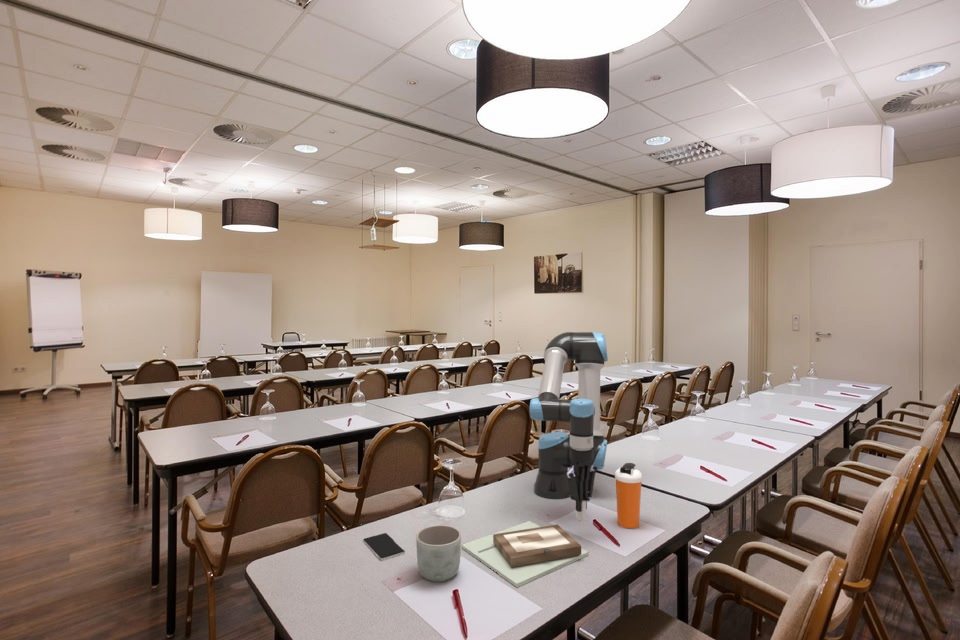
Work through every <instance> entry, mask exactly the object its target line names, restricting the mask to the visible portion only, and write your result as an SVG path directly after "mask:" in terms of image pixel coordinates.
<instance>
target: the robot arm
mask: <svg viewBox="0 0 960 640" xmlns="http://www.w3.org/2000/svg"><path fill="white" fill-rule="evenodd" d="M543 359H544V365H543V370H542V376H541V381H540V385H539V389H538V390H539V391H538V395H537V397H535V398H534V397H533V398H532V399H530V402H529V417H530V419H531V420H535V421H542V422H544V421H545V422H561V423H562V422H563V423H569V434H568V433H567V432H563V431H553V432H547V433H545V434H542V435H540V437H539V438H538V446H537V449H538V472H537V475H536V480H535V482H534V485H533V492H534V493H535V494H536V495H537V496H539V497H542V498H545V499H556V500H557V499H558V500H559V499H565V498H568V497H569V498H570V500H572V501H574V502H575V511H576V520H577V521H578V522H581V523H585V522H587V509H588V502H589V501H590V500H591V498H592V496H593V490H594V483H595V477H596V473H597V471H601V470H603V468H604V466H605V462H606V455H607V447H608V440H607V439H605V437H604V434H603V432H602V431H601V429H600V428H601V370H602V369H603V368H604V367H605V363H606V362H609V358H608V350H607V344H606V336H605V334H604V333H602V332H594V331H590V332H589V331H588V332H586V331H580V332H572V331H570V332H569V331H567V332H563V333H560V334H558V335H556V336H554V337H553V338H552V339H551V340H550V341H549V343H548V344H547V345H546V347H545V349H544V352H543ZM568 361H574V365H575V367H576V368H577V369H578V387H577V389H578V390H577V391H578V392H577V394H578V395H577V398H574V399H573V398H572V399H560V396H561V388H562V381H563V374H564V367H565V364H566V363H567V362H568ZM569 468H570V469H569ZM568 469H569V470H568Z"/></svg>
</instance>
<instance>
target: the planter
mask: <svg viewBox="0 0 960 640" xmlns="http://www.w3.org/2000/svg"><path fill="white" fill-rule="evenodd" d="M415 539H416V540H415V542H416V543H415V544H416V557H417V562H416V563H417V569H418V572H419V573H420V576H422V577H423V578H424V579H426V580H427V581H431V582H434V583H435V582H436V583H437V582H438V583H440V582H444V581H447V580H450V579H452V578H454V577H455V576H456V575H457V573H458V572H459V569H460V564H461V551H462V532H461V531H460V530H459V528H456V527H454V526H452V525H445V524H444V525H443V524H434V525H430V526H427V527H424V528H422V529H420V530H419V531H418V532H417V534H416V537H415Z"/></svg>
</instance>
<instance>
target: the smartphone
mask: <svg viewBox="0 0 960 640" xmlns="http://www.w3.org/2000/svg"><path fill="white" fill-rule="evenodd" d="M363 543H364V544H365V545H366V546H367V547H368V548H369V550H370V551H371V552H372V553H373V554H374V555H375V557H376V558H377V559H378V560H379V561H383V562H384V561H387V560H390V559H393V558H397V557H399V556H402V555H405V554H406V550H405V549H404V548H403V547H402V546H401V545H400V544H399V543H397V542H396V541H395V540H394V539H393V538H392V537H391V536H390V535H389V534H388V533H387V532H383V533H379V534H376V535H372V536H369V537H368V536H367V537H366V538H363Z"/></svg>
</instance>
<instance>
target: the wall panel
mask: <svg viewBox="0 0 960 640" xmlns="http://www.w3.org/2000/svg"><path fill="white" fill-rule="evenodd" d="M537 527H541V526H540V525H539V524H536V523H534V522H532V521H531V520H528V521H526V522H523V523H519V524H518V525H513V526H512V527H509V528H506V529H503V530H500V531H497V532H494V533H492V534H488V535H486V536H483V537H481V538H477V539H475V540H472V541H469V542H466V543H464V544H461V550H464V551H465V552H466V553H467V554H469V555H471V556H472V557H474V558H475V559H476V560H478V561H479V562H480V561H481V562H480V563H482V564H483V565H485V567H487V566H488V567H487V568H489V569H490V568H491V569H490V570H491V571H493V570H494V571H495V572H494V571H493V572H494V573H496V572H497V573H498V574H497V573H496V574H497V575H498V576H500V577H501V576H502V577H501V578H502V579H504V580H505V581H507V582H509V584H511V585H513V586H514V587H515V588H519V587H522V586H523V585H526V584H528V583H530V582H532V581H535V580H537V579H538V578H541V577H544V576H546V575H548V574H551V573H552V572H554V571H557V570H559V569H561V568H563V567H565V566H568V565H570V564H572V563H575V562H577V561H579V560H581V559H584V558H586V557H588V556H589V551H587V550H585V549H584V548H582V547H581V555H576V556H570V557H565V558H559V559H554V560H548V561H543V562H537V563H532V564H526V565H521V566H515V567H511V566H510V564H509V563H508V562H507V560H506V559H505V558H504V556H503V555H502V554H501V552H500V551H499V549H498V548H497V547H496V545H495V544H494V543H493V534H499V533H505V532H512V531H518V530H524V529H531V528H537Z"/></svg>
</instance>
